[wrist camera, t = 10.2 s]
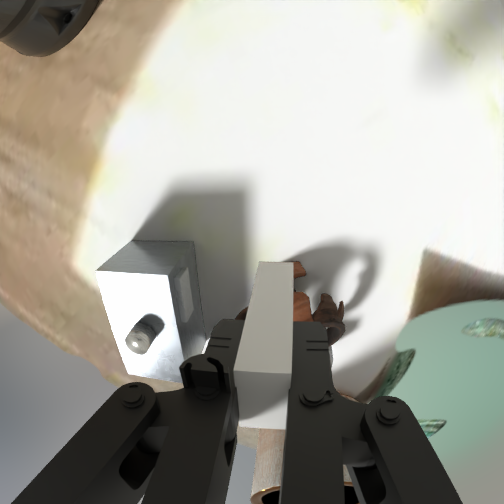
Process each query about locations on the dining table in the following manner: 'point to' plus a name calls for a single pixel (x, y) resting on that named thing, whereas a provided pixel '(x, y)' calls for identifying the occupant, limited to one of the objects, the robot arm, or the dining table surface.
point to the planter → (271, 468)
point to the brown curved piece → (323, 314)
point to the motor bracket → (155, 306)
